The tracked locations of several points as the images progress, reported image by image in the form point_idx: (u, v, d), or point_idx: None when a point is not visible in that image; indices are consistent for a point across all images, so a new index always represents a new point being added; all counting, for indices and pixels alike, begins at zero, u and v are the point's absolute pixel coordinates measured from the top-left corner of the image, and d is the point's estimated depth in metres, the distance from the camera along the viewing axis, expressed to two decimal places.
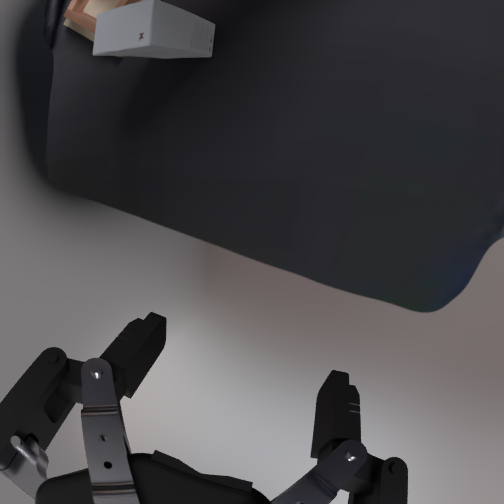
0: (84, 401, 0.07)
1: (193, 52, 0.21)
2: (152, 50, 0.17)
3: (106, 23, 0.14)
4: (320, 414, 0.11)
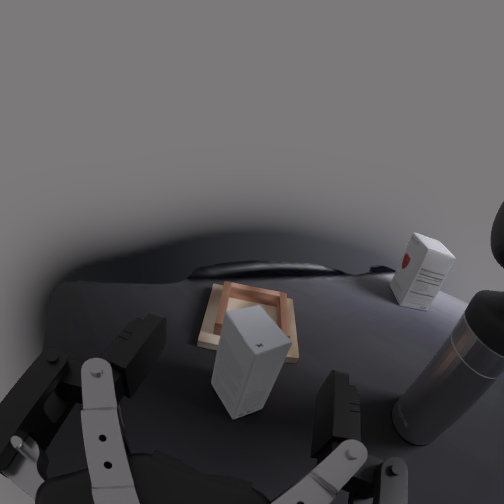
0: (84, 401, 0.07)
1: (240, 400, 0.26)
2: (240, 362, 0.25)
3: (255, 314, 0.27)
4: (320, 414, 0.11)
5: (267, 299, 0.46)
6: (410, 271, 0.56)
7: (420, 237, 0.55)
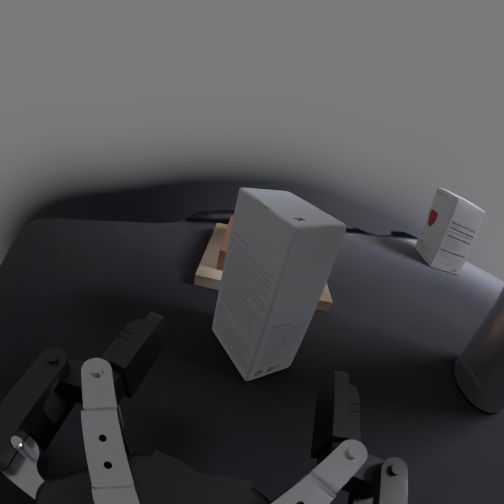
0: (84, 401, 0.07)
1: (261, 338, 0.17)
2: (264, 260, 0.16)
3: (285, 195, 0.18)
4: (320, 414, 0.11)
5: None
6: (439, 227, 0.47)
7: (446, 190, 0.46)
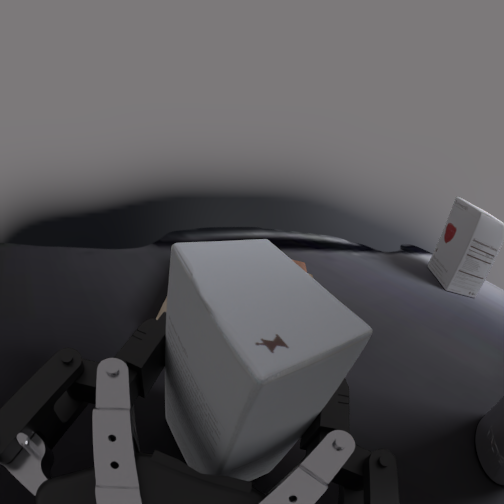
0: (97, 400, 0.07)
1: None
2: (209, 395, 0.08)
3: (258, 255, 0.10)
4: None
5: None
6: (457, 245, 0.38)
7: (466, 201, 0.38)
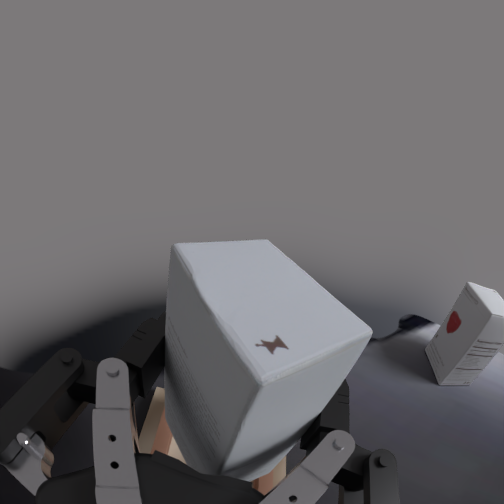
0: (97, 400, 0.07)
1: None
2: (209, 396, 0.07)
3: (258, 255, 0.10)
4: None
5: None
6: (459, 341, 0.33)
7: (477, 291, 0.32)
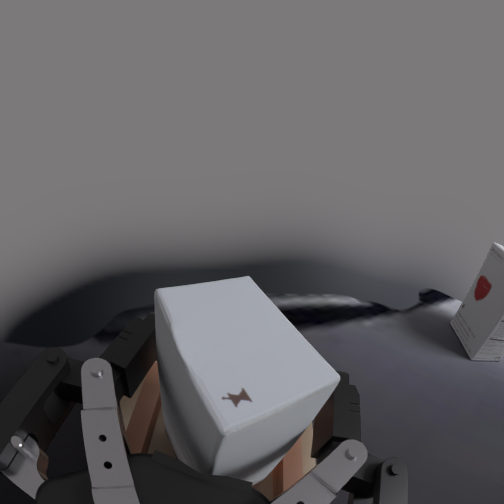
0: (84, 401, 0.07)
1: None
2: (191, 428, 0.08)
3: (236, 298, 0.10)
4: (320, 414, 0.11)
5: None
6: (491, 307, 0.27)
7: None
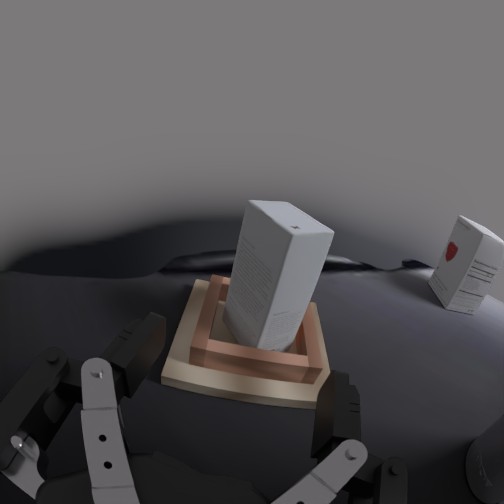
0: (84, 401, 0.07)
1: (265, 323, 0.21)
2: (267, 259, 0.20)
3: (285, 206, 0.22)
4: (320, 414, 0.11)
5: None
6: (458, 264, 0.39)
7: (469, 221, 0.39)
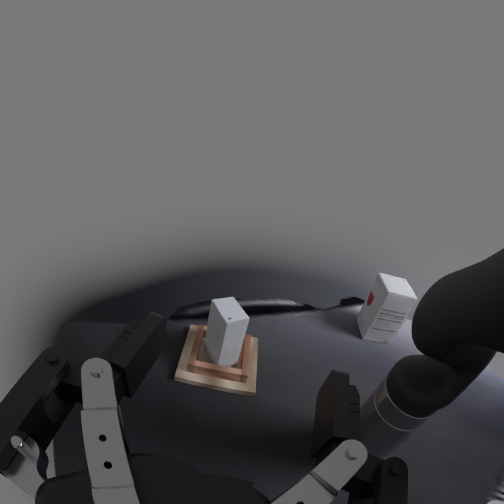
0: (84, 401, 0.07)
1: (220, 354, 0.45)
2: (219, 329, 0.44)
3: (229, 301, 0.46)
4: (320, 414, 0.11)
5: None
6: (372, 310, 0.63)
7: (384, 278, 0.63)
